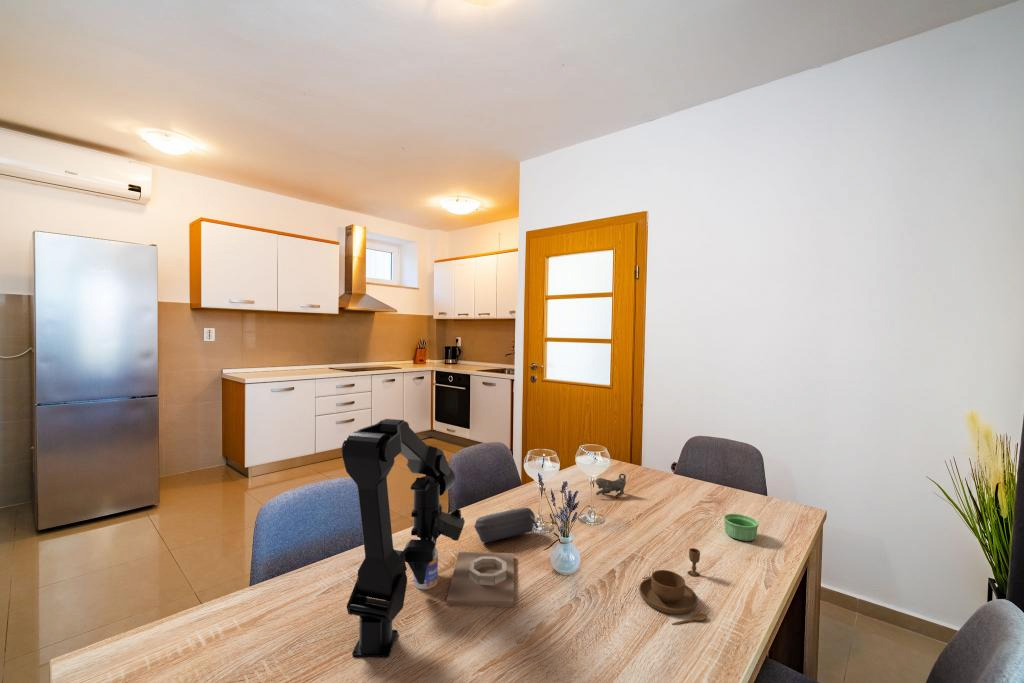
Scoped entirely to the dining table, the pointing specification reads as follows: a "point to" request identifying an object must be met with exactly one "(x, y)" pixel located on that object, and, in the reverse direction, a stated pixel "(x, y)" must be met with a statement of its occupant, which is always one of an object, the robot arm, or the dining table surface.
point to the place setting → (672, 591)
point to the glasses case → (505, 524)
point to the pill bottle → (429, 574)
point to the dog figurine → (611, 485)
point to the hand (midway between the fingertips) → (425, 572)
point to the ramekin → (740, 527)
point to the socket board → (483, 580)
